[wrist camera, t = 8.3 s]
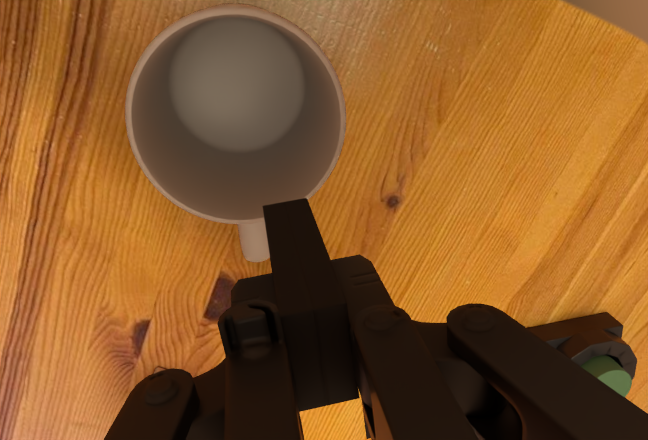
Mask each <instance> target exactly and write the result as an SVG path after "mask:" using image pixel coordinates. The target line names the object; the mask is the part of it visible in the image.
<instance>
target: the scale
mask: <svg viewBox="0 0 648 440" xmlns="http://www.w3.org/2000/svg"><path fill="white" fill-rule="evenodd" d="M527 329H528V330H530V331H531V332H532V333H534V334H535V335H537V336H538V337H540V338H541V339H542V340H544V341H545V342H547V343H548V344H549V345H551V346H552V347H554V348H555V349H557V350H558V351H559V352H561V353H562V354H564V355H565V356H566V357H568V358H569V359H571V360H572V361H574V362H575V363H576V364H578V365H579V366H581V365H582V364H584V363H585V362H587V361H588V360H590V359H591V358H593V357H595V356H600V355H605V356H609V357H611V358H612V359H613V360H614V361H615V362H616V363H618V364H619V365H620V366H621V367H622V368H623V369H624V370H625V371H626V372H627V373H628V374H629V375H630V377H631V380H632V379H633V378H634V375H635V370H636V364H637V358H636V357H635V355H634V353H633V351H632V350H631V348H630V346H629V345H628V344H626V343H625V342H624V341H623V340H622V339H621V337H622V331H623V325H622V324H621V323H620V322H618V321H617V320H616V319H615V318H614V317H612V316H611V315H610V314H609V313H607V312H606V313H601V314H596V315H591V316H586V317H581V318H576V319H571V320H566V321H561V322H556V323H551V324H547V325H542V326H537V327H532V328H527Z"/></svg>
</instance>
